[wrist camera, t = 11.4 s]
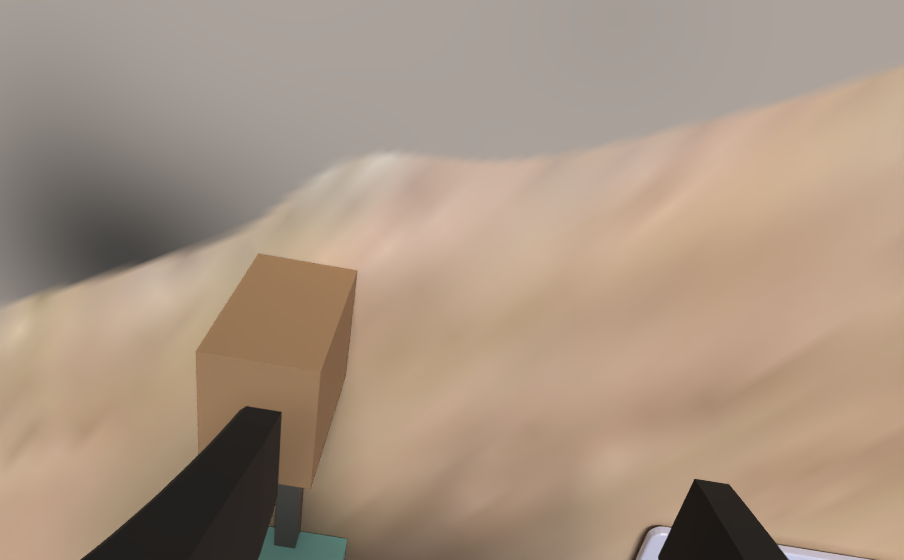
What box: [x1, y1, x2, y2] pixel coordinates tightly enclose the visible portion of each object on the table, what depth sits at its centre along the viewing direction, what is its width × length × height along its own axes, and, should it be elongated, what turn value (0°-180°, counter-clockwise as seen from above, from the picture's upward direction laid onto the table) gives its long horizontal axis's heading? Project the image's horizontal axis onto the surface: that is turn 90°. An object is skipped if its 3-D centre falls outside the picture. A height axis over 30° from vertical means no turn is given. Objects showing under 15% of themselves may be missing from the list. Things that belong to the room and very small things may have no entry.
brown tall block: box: [196, 254, 357, 560], centre depth 23 cm, size 4×17×5 cm, turn 171°
